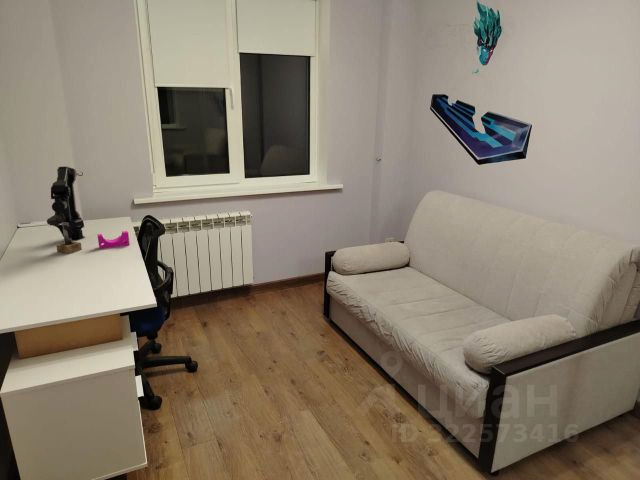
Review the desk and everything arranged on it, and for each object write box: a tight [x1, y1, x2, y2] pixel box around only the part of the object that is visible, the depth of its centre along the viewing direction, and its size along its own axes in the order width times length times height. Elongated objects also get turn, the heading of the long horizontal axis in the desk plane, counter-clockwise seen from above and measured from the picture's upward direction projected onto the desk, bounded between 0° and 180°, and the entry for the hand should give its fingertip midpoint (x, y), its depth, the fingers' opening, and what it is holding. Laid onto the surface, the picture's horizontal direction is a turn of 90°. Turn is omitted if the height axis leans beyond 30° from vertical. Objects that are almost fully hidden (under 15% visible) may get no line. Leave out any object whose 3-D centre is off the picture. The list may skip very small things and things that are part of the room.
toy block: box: [97, 230, 131, 250], centre depth 243 cm, size 15×6×8 cm, turn 120°
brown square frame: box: [55, 241, 83, 255], centre depth 233 cm, size 8×8×4 cm
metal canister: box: [62, 224, 73, 244], centre depth 231 cm, size 3×3×10 cm
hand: (67, 237), depth 232 cm, fingers closed on metal canister, 3 cm apart
